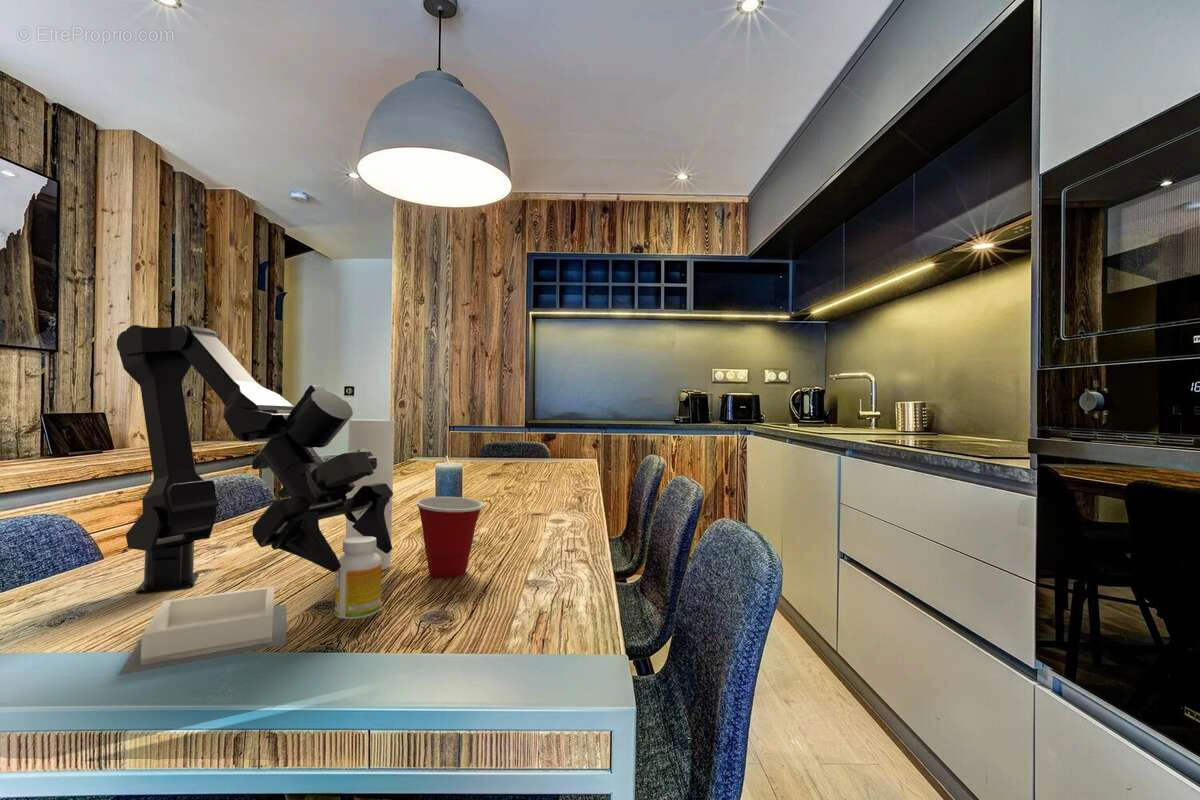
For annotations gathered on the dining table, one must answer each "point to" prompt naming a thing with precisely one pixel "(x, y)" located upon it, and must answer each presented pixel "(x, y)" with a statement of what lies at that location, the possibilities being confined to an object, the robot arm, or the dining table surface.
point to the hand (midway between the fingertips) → (365, 559)
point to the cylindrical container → (381, 445)
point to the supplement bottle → (358, 579)
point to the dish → (208, 624)
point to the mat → (277, 639)
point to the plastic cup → (448, 533)
